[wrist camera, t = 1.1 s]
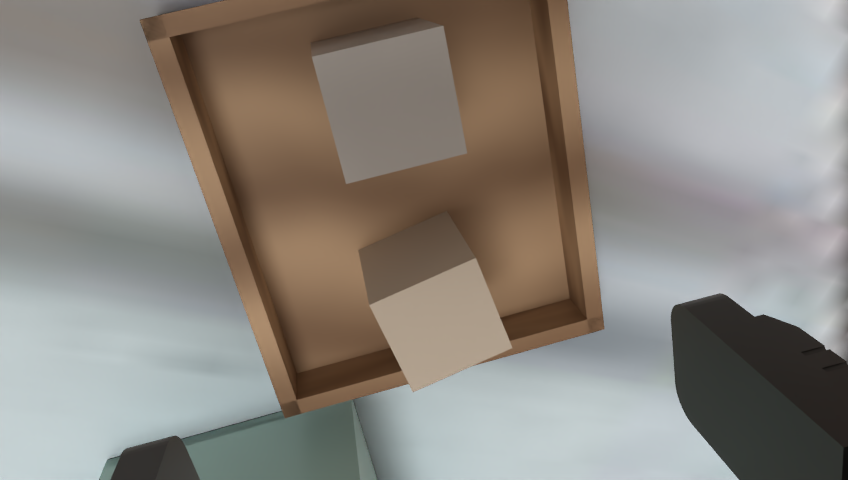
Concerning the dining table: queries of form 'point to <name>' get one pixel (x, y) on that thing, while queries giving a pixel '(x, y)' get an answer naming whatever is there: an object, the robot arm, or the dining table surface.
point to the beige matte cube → (432, 301)
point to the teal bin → (282, 448)
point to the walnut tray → (381, 178)
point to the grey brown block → (389, 97)
